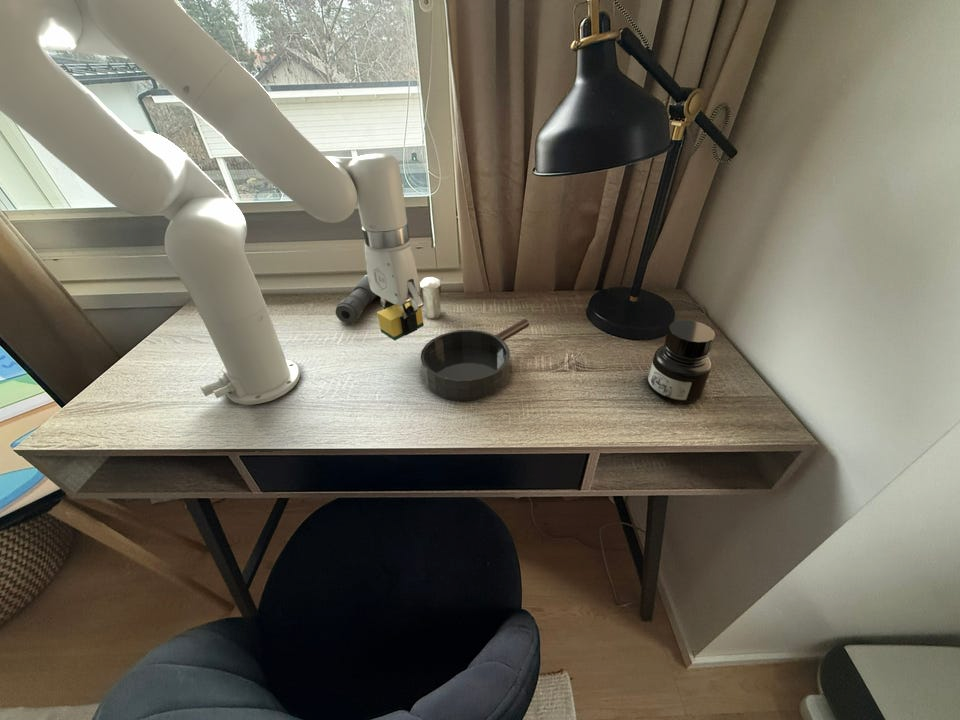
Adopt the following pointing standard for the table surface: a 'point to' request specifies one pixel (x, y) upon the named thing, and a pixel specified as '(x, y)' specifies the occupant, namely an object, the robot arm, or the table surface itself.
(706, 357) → the ink bottle
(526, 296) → the table surface
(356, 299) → the flashlight
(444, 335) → the pan
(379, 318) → the sponge
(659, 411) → the table surface
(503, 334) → the pan handle
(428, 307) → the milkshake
